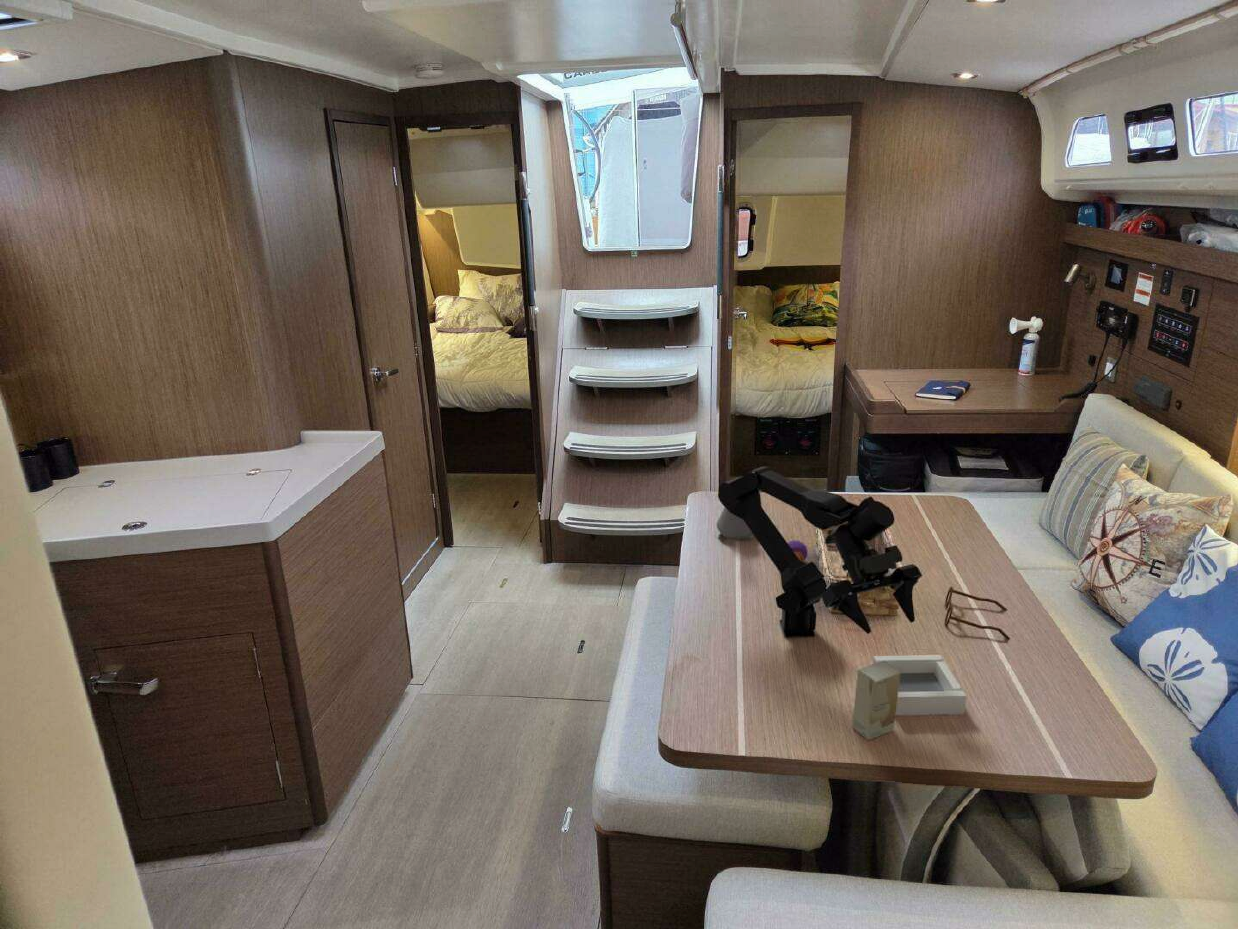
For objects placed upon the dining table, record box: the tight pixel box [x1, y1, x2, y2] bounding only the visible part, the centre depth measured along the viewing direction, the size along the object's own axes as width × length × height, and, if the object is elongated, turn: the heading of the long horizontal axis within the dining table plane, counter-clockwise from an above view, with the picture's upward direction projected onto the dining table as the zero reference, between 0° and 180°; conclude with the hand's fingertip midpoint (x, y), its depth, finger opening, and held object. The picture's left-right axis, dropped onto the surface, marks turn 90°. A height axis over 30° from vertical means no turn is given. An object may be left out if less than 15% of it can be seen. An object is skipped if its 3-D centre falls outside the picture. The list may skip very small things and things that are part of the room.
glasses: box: [944, 586, 1011, 640], centre depth 176 cm, size 13×13×5 cm
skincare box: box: [851, 661, 901, 741], centre depth 141 cm, size 6×4×12 cm
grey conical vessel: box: [716, 506, 754, 542], centre depth 213 cm, size 21×12×15 cm, turn 168°
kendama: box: [787, 539, 808, 563], centre depth 197 cm, size 6×6×20 cm
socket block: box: [872, 654, 967, 716], centre depth 152 cm, size 13×13×4 cm
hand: (891, 627), depth 148 cm, fingers open, 9 cm apart
